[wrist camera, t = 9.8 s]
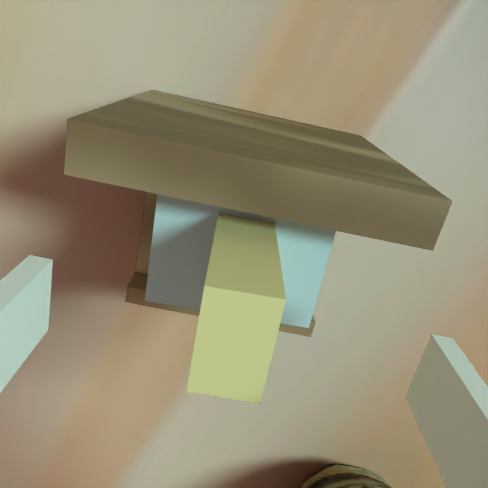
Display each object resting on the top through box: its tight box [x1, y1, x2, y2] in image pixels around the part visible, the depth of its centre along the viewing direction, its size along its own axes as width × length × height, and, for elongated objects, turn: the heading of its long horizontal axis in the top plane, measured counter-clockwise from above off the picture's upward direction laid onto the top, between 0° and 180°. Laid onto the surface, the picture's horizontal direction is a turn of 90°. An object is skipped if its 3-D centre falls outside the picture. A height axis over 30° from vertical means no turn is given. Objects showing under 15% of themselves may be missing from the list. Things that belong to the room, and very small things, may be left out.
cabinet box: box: [145, 194, 336, 403], centre depth 21 cm, size 6×8×13 cm
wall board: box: [64, 90, 452, 337], centre depth 25 cm, size 11×14×15 cm
